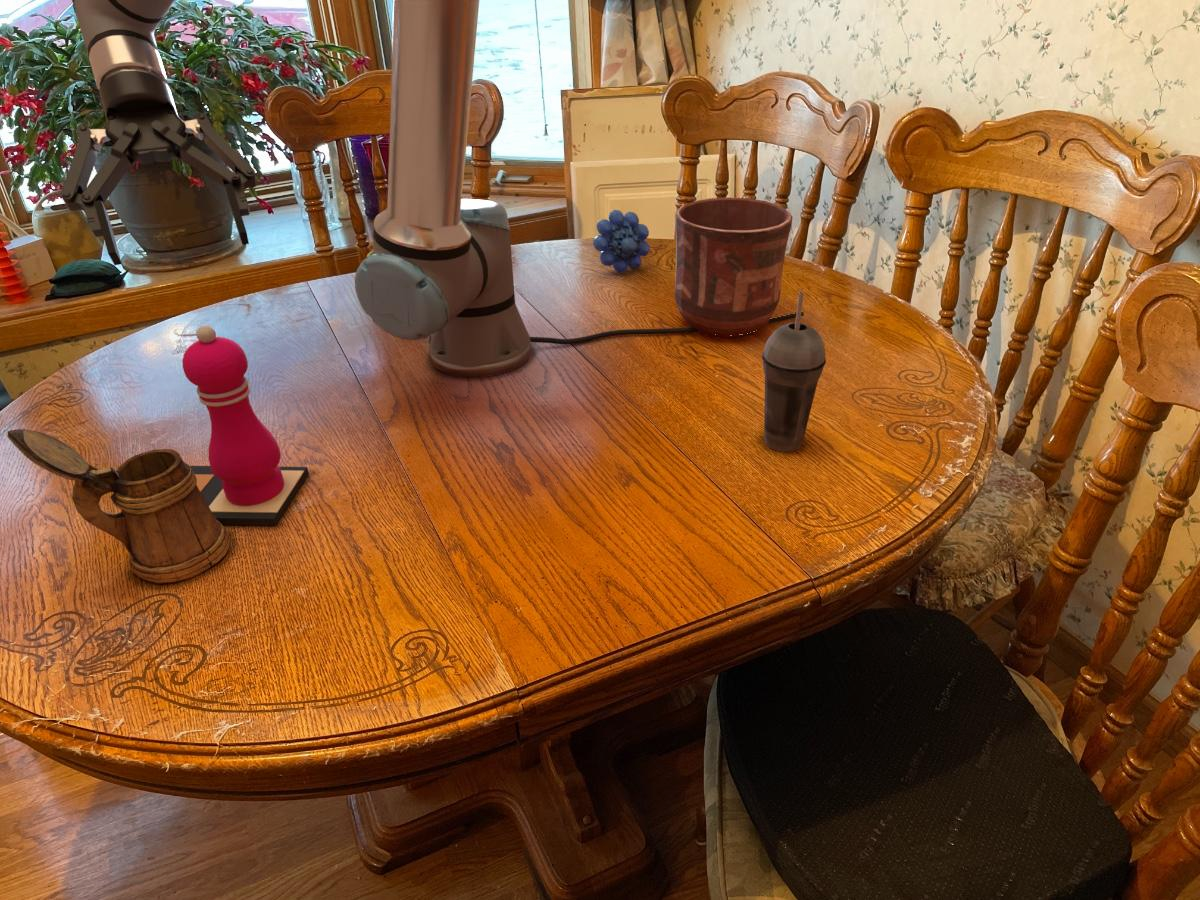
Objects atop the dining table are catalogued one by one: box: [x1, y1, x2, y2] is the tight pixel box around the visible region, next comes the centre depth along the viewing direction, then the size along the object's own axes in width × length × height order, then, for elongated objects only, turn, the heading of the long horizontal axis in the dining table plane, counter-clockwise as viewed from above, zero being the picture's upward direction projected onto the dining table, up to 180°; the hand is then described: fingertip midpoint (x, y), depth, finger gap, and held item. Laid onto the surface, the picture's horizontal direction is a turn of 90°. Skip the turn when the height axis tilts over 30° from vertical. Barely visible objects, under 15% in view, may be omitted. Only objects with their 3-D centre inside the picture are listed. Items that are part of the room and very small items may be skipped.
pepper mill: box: [182, 324, 284, 506], centre depth 83 cm, size 7×7×20 cm
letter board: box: [189, 465, 310, 527], centre depth 88 cm, size 15×10×1 cm, turn 87°
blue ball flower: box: [592, 209, 651, 274], centre depth 144 cm, size 12×7×12 cm, turn 116°
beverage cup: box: [761, 290, 827, 453], centre depth 91 cm, size 7×7×20 cm
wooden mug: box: [6, 428, 231, 585], centre depth 75 cm, size 9×14×18 cm, turn 122°
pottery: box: [674, 196, 793, 340], centre depth 122 cm, size 18×18×18 cm
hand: (181, 248), depth 89 cm, fingers open, 13 cm apart
